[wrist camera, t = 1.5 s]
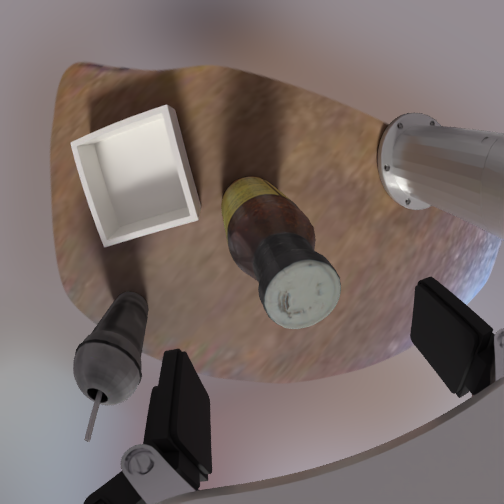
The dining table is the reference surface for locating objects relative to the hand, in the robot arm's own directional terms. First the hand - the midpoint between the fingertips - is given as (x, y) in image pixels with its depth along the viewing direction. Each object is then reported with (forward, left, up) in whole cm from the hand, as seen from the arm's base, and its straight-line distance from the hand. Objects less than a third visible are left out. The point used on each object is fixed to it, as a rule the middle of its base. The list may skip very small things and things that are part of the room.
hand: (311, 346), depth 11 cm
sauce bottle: (0, 0, -24) cm, 24 cm away
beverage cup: (+18, +9, -24) cm, 31 cm away
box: (+10, -7, -23) cm, 26 cm away
